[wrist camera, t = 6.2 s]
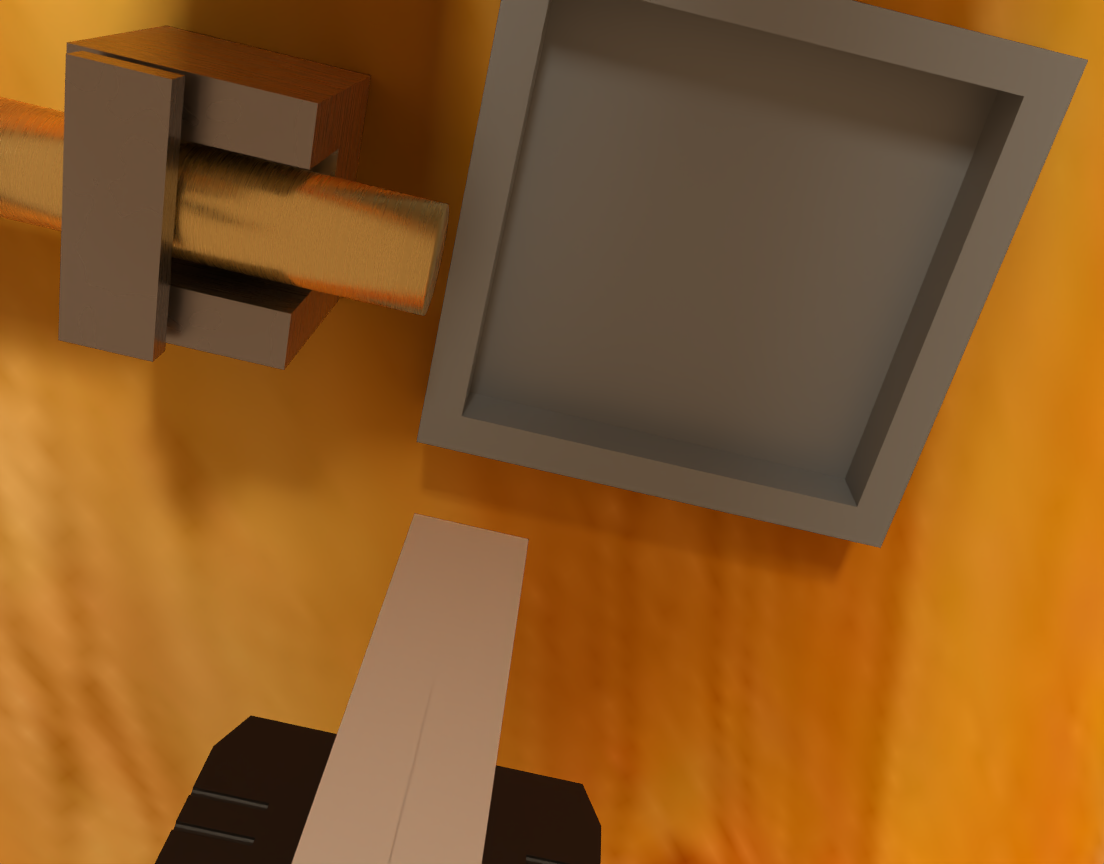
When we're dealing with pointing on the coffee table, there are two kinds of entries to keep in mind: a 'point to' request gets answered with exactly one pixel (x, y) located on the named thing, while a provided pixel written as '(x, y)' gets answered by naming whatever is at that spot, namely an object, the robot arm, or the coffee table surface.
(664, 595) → the coffee table surface
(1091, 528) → the coffee table surface
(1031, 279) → the coffee table surface
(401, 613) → the robot arm
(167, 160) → the pin mount
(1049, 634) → the coffee table surface
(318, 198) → the lock pin
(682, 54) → the grey square tray
